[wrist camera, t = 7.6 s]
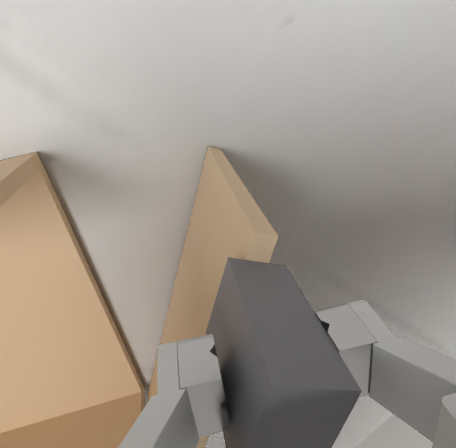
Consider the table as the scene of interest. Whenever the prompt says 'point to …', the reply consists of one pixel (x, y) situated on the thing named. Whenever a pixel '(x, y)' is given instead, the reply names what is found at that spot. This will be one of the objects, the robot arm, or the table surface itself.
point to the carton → (55, 328)
